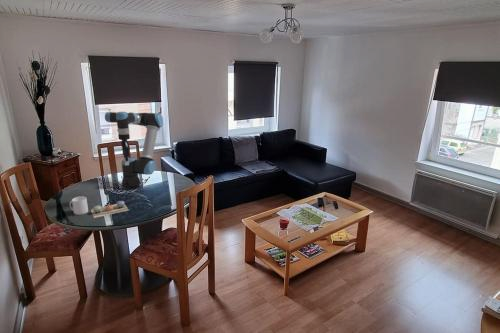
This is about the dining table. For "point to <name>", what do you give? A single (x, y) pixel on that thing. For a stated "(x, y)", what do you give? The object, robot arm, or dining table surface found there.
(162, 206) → the dining table surface
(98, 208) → the button sage
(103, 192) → the dining table surface
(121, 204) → the button slate
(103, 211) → the button board
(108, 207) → the button terracotta
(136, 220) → the dining table surface
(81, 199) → the mug
